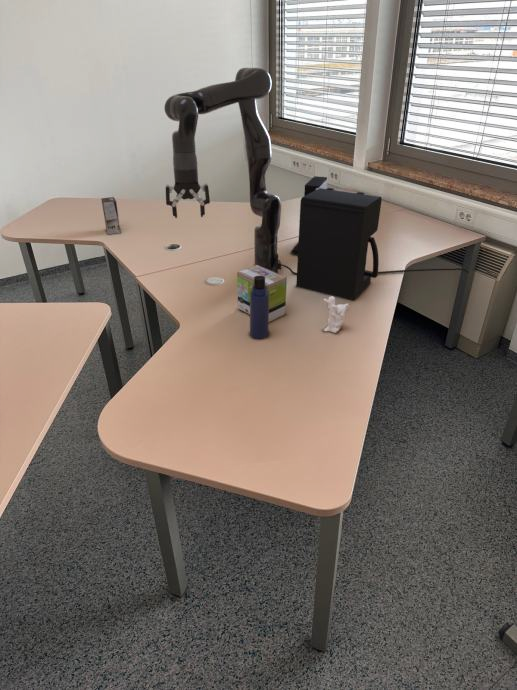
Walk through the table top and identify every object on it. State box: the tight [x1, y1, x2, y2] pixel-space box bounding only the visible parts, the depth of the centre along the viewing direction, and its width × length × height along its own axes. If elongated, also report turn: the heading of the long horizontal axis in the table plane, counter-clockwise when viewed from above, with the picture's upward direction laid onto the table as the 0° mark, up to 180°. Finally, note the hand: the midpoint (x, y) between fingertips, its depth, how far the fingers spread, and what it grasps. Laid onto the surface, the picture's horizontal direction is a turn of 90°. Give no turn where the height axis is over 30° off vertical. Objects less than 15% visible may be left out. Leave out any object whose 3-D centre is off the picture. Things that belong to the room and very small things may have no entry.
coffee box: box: [100, 196, 121, 235], centre depth 244 cm, size 9×6×16 cm
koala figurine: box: [323, 295, 350, 334], centre depth 159 cm, size 8×7×12 cm
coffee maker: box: [295, 187, 383, 301], centre depth 183 cm, size 28×20×35 cm
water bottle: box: [249, 276, 270, 340], centre depth 154 cm, size 6×6×20 cm
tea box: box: [236, 265, 288, 323], centre depth 169 cm, size 15×10×15 cm
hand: (189, 216), depth 162 cm, fingers open, 8 cm apart
